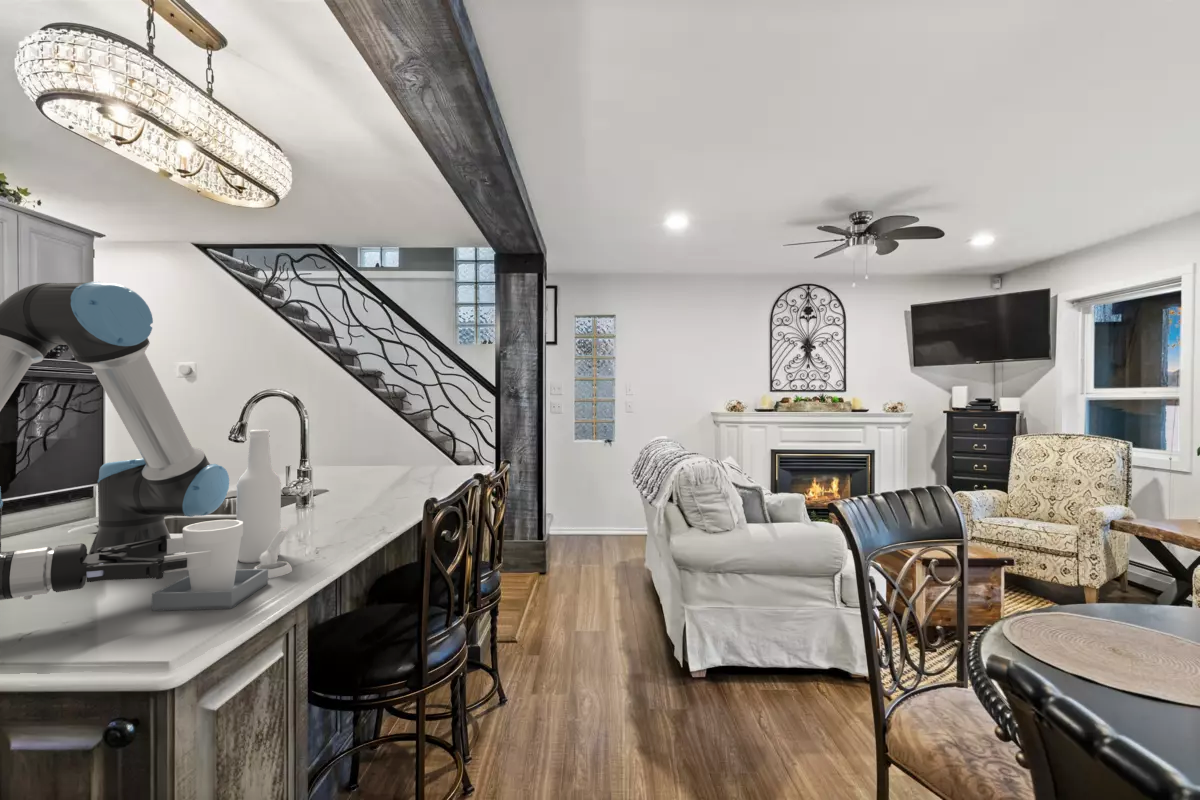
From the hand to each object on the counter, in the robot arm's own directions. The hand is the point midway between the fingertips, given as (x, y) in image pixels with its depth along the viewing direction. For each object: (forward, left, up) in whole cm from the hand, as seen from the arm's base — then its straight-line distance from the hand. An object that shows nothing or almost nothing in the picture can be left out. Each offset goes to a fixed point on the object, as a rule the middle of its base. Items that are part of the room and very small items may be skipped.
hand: (209, 549), depth 104 cm
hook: (-15, +4, -9) cm, 18 cm away
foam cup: (-1, 0, -9) cm, 9 cm away
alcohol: (-26, -4, -9) cm, 27 cm away
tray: (-1, 0, -9) cm, 9 cm away
